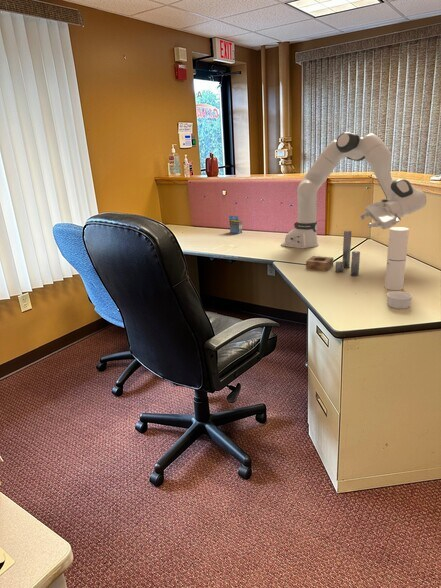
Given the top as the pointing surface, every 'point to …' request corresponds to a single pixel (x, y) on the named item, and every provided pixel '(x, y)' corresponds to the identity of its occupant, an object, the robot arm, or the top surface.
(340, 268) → the short steel pin
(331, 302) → the top surface
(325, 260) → the walnut collar block
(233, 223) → the label tape cartridge
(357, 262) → the medium steel pin
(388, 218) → the robot arm
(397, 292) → the ramekin
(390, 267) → the cylindrical container
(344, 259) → the tall steel pin
